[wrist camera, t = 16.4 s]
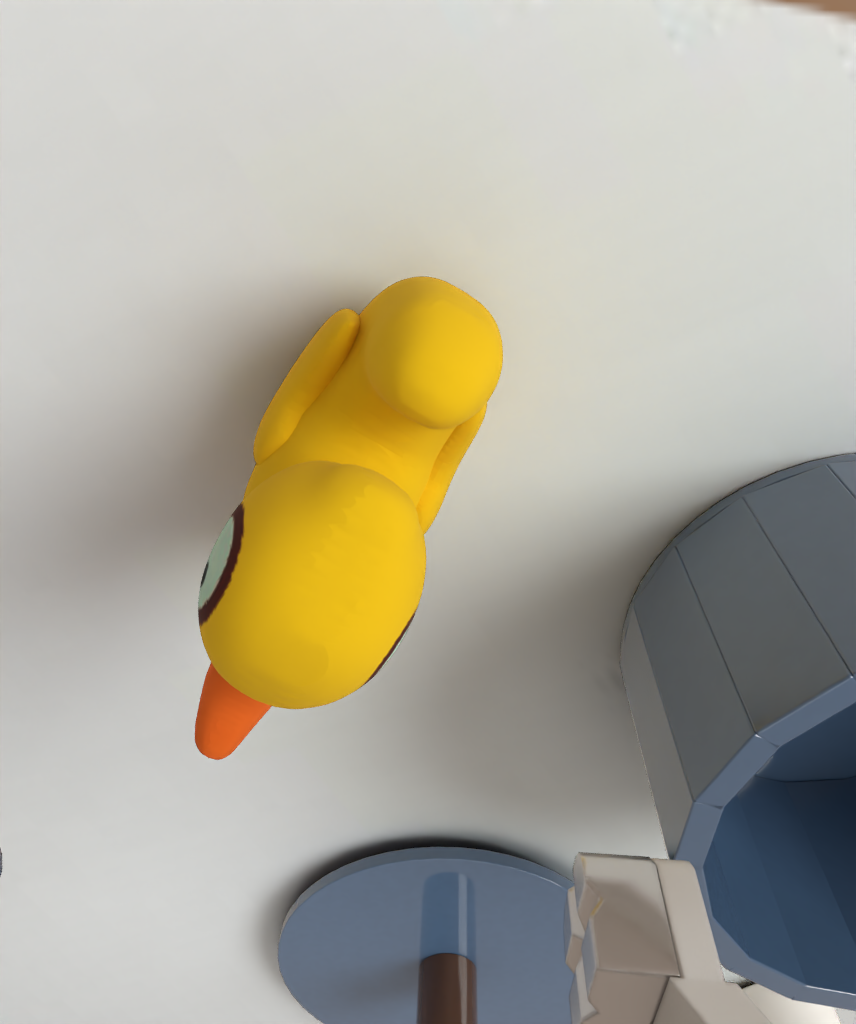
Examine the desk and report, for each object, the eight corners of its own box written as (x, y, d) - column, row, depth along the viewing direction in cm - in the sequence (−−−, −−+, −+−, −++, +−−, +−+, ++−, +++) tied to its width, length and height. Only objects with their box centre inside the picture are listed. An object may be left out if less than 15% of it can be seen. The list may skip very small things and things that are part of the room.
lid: (287, 1023, 41) (266, 1144, 36) (275, 821, 33) (246, 943, 29) (588, 1043, 41) (603, 1167, 36) (645, 846, 33) (674, 972, 29)
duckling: (349, 593, 27) (297, 849, 19) (203, 517, 26) (76, 755, 17) (550, 312, 22) (607, 485, 14) (382, 202, 21) (327, 316, 12)
